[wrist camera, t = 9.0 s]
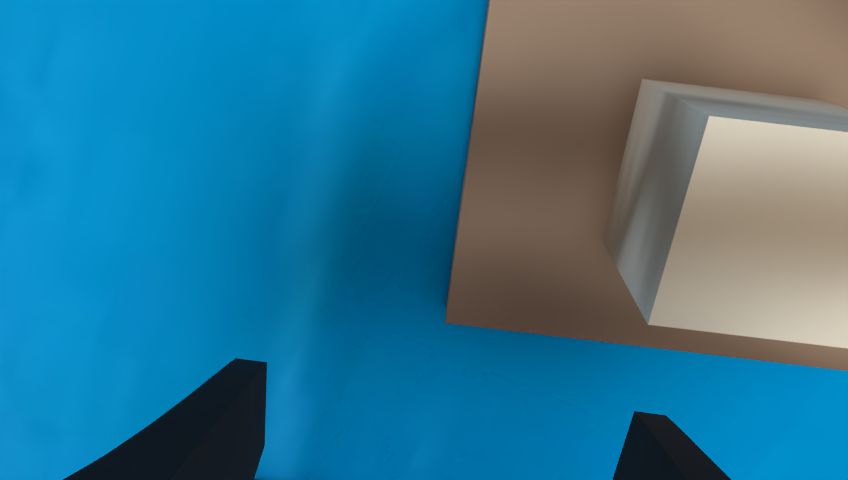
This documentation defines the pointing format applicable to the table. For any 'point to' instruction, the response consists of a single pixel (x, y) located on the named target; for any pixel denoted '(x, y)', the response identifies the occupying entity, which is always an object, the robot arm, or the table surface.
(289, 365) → the table surface
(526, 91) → the walnut board
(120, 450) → the robot arm
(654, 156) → the ash cube
